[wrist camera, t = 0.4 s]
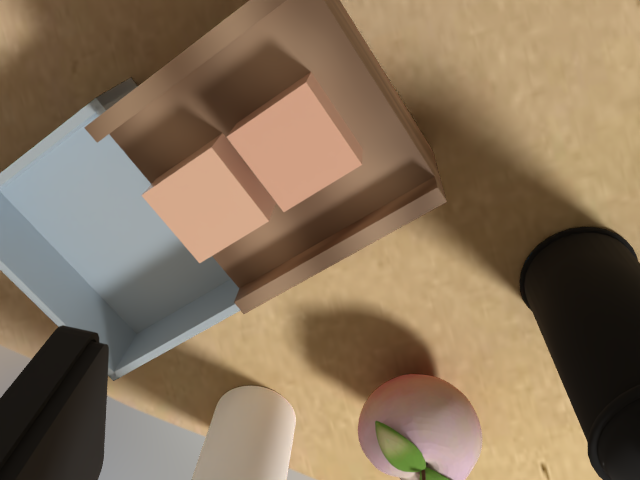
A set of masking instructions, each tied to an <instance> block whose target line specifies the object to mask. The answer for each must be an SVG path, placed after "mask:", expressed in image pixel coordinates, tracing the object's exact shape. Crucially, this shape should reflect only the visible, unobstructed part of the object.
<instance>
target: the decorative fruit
mask: <svg viewBox="0 0 640 480" xmlns="http://www.w3.org/2000/svg"><path fill="white" fill-rule="evenodd" d="M358 436H359V442H360V445H361V447H362V450H363V452H364V453H365V455H366V456H367V458H368V459H369V460H370V461H371V463H372V464H373V465H374V466H375V467H376V468H377V469H379V470H380V471H382V472H383V473H385V474H388V475H391V476H395V477H399V478H400V479H401V480H465V479H466V478H467V476H468V475H469V474H470V472H471V470H472V469H473V467H474V466H475V464H476V462H477V460H478V458H479V456H480V453H481V448H482V431H481V426H480V422H479V419H478V417H477V414H476V412H475V410H474V408H473V406H472V405H471V403H470V402H469V400H468V399H467V398H466V396H465V395H464V394H463V393H461V392H460V391H459V390H458V389H457V388H456V387H454V386H453V385H451V384H450V383H448V382H446V381H444V380H442V379H440V378H437V377H434V376H429V375H422V374H407V375H401V376H398V377H395V378H393V379H391V380H389V381H387V382H385V383H384V384H382V385H381V386H379V387H378V388H377V389H376V390H375V391H374V392H373V393H372V394H371V395H370V397H369V398H368V399H367V401H366V402H365V404H364V406H363V408H362V411H361V414H360V418H359V424H358Z"/></svg>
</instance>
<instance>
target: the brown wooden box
mask: <svg viewBox="0 0 640 480" xmlns="http://www.w3.org/2000/svg"><path fill="white" fill-rule="evenodd" d="M310 72H312V74H313V75H314V77H315V78H316V80H317V81H318V83H319V84H320V86H321V87H322V89H323V90H324V92H325V93H326V95H327V96H328V98H329V99H330V101H331V102H332V104H333V105H334V107H335V108H336V110H337V111H338V113H339V114H340V116H341V117H342V119H343V120H344V122H345V123H346V125H347V126H348V128H349V129H350V131H351V132H352V134H353V135H354V137H355V138H356V140H357V141H358V143H359V144H360V146H361V147H362V149H363V157H362V165H361V166H359V167H358V168H356V169H354V170H353V171H351V172H349V173H348V174H346V175H344V176H343V177H341V178H340V179H338V180H336V181H335V182H333V183H331V184H330V185H328V186H326V187H325V188H323V189H321V190H320V191H318V192H316V193H315V194H313V195H312V196H310V197H308V198H307V199H305V200H303V201H302V202H300V203H298V204H297V205H295V206H293V207H292V208H290V209H289V210H287V211H285V212H283V211H282V209H281V208H280V207H279V206H278V204H277V203H276V204H275V207H274V209H273V212H272V215H271V217H270V220H269V222H267V223H265V224H264V225H262V226H261V227H259V228H257V229H256V230H254V231H252V232H251V233H249V234H247V235H246V236H244V237H242V238H241V239H239V240H237V241H236V242H234V243H233V244H231V245H229V246H228V247H226V248H224V249H223V250H221V251H219V252H218V253H216V254H214V255H213V256H212V257H213V258H214V259H215V260H216V262H217V263H218V264H219V265H220V266H221V267H222V269H223V270H224V271H225V272H226V273H227V275H228V276H229V277H230V278H231V279H232V280H233V282H234V283H235V284H236V285H237V286H238V288H239V290H238V293H237V296H236V298H235V301H234V303H235V304H236V306H237V307H238V308H239V309H240V310H241V311H242V313H243V314H245V313H247V312H249V311H250V310H252V309H254V308H256V307H258V306H259V305H261V304H263V303H265V302H267V301H268V300H270V299H272V298H274V297H276V296H278V295H279V294H281V293H283V292H285V291H287V290H288V289H290V288H292V287H294V286H296V285H297V284H299V283H301V282H303V281H305V280H306V279H308V278H310V277H312V276H314V275H316V274H317V273H319V272H321V271H323V270H325V269H326V268H328V267H330V266H332V265H334V264H335V263H337V262H339V261H341V260H343V259H344V258H346V257H348V256H350V255H352V254H353V253H355V252H357V251H359V250H361V249H363V248H364V247H366V246H368V245H370V244H372V243H373V242H375V241H377V240H379V239H381V238H382V237H384V236H386V235H388V234H390V233H391V232H393V231H395V230H397V229H399V228H401V227H402V226H404V225H406V224H408V223H410V222H411V221H413V220H415V219H417V218H419V217H420V216H422V215H424V214H426V213H428V212H429V211H431V210H433V209H435V208H437V207H438V206H440V205H442V204H444V203H446V202H447V201H446V197H445V193H444V190H443V186H442V182H441V179H440V175H439V172H438V168H437V164H436V161H435V157H434V153H433V150H432V148H431V147H430V145H429V144H428V142H427V140H426V139H425V137H424V136H423V134H422V132H421V131H420V129H419V127H418V126H417V124H416V123H415V121H414V119H413V118H412V116H411V115H410V113H409V111H408V110H407V108H406V107H405V105H404V103H403V102H402V100H401V98H400V97H399V95H398V94H397V92H396V90H395V89H394V87H393V86H392V84H391V82H390V81H389V79H388V77H387V76H386V74H385V73H384V71H383V69H382V68H381V66H380V65H379V63H378V61H377V60H376V58H375V57H374V55H373V53H372V52H371V50H370V48H369V47H368V45H367V44H366V42H365V40H364V39H363V37H362V36H361V34H360V32H359V31H358V29H357V27H356V26H355V24H354V23H353V21H352V19H351V18H350V16H349V15H348V13H347V11H346V10H345V8H344V6H343V5H342V3H341V2H340V0H249V1H248V2H246V3H245V4H244V5H243V6H241V7H240V8H239V9H237V10H236V11H235V12H234V13H232V14H231V15H230V16H228V17H227V18H226V19H224V20H223V21H222V22H221V23H219V24H218V25H217V26H215V27H214V28H213V29H211V30H210V31H209V32H208V33H206V34H205V35H204V36H202V37H201V38H200V39H199V40H197V41H196V42H195V43H193V44H192V45H191V46H189V47H188V48H187V49H186V50H184V51H183V52H182V53H180V54H179V55H178V56H176V57H175V58H174V59H173V60H171V61H170V62H169V63H167V64H166V65H165V66H163V67H162V68H161V69H160V70H158V71H157V72H156V73H154V74H153V75H152V76H151V77H149V78H148V79H147V80H145V81H144V82H143V83H141V84H140V85H139V86H138V87H136V88H135V89H134V90H132V91H131V92H130V93H128V94H127V95H126V96H125V97H123V98H122V99H121V100H119V101H118V102H117V103H116V104H114V105H113V106H112V107H110V108H109V109H108V110H106V111H105V112H104V113H103V114H101V115H100V116H99V117H97V118H96V119H95V120H93V121H92V122H91V123H90V124H88V125H87V126H86V127H84V128H85V129H86V131H87V132H88V133H89V134H90V135H91V136H92V138H93V139H94V140H95V141H96V142H97V143H98V142H99V141H100V140H102V139H103V138H104V137H106V136H107V135H108V134H109V135H110V136H111V137H112V138H113V139H114V141H115V142H116V143H117V144H118V145H119V146H120V148H121V149H122V150H123V151H124V152H125V154H126V155H127V156H128V157H129V158H130V160H131V161H132V162H133V163H134V164H135V165H136V167H137V168H138V169H139V170H140V171H141V173H142V174H143V175H144V176H145V177H146V178H147V180H148V181H149V182H150V183H151V184H152V183H153V182H154V181H155V180H156V179H157V178H158V177H159V176H161V175H162V174H164V173H165V172H167V171H168V170H170V169H171V168H172V167H174V166H175V165H177V164H178V163H180V162H181V161H183V160H184V159H186V158H187V157H188V156H190V155H191V154H193V153H194V152H196V151H197V150H199V149H200V148H201V147H203V146H204V145H206V144H207V143H209V142H210V141H212V140H213V139H214V138H216V137H217V136H219V135H220V134H222V133H223V134H224V135H225V137H226V138H227V135H228V134H229V133H230V131H231V130H232V129H233V127H234V126H235V125H236V123H238V122H239V121H241V120H242V119H243V118H245V117H246V116H248V115H249V114H251V113H252V112H254V111H255V110H256V109H258V108H259V107H261V106H262V105H264V104H265V103H267V102H268V101H269V100H271V99H272V98H274V97H275V96H277V95H278V94H280V93H281V92H282V91H284V90H285V89H287V88H288V87H290V86H291V85H293V84H294V83H295V82H297V81H298V80H300V79H301V78H303V77H304V76H306V75H307V74H309V73H310ZM227 139H228V138H227ZM228 141H229V140H228ZM229 142H230V141H229ZM230 143H231V142H230ZM231 145H232V144H231ZM232 146H233V145H232ZM233 147H234V146H233ZM234 149H235V148H234ZM235 150H236V149H235ZM236 151H237V150H236ZM237 153H238V152H237ZM238 154H239V153H238ZM239 155H240V154H239ZM241 158H242V157H241ZM242 159H243V158H242ZM244 162H245V161H244ZM245 163H246V162H245ZM246 164H247V163H246ZM247 166H248V165H247ZM248 167H249V166H248ZM249 168H250V167H249ZM250 170H251V169H250ZM251 171H252V170H251ZM252 172H253V171H252ZM253 174H254V173H253ZM254 175H255V174H254ZM255 176H256V175H255ZM257 179H258V178H257ZM258 180H259V179H258ZM260 183H261V182H260ZM261 184H262V183H261ZM262 185H263V184H262ZM263 187H264V186H263ZM264 188H265V187H264ZM265 189H266V188H265ZM266 191H267V190H266ZM267 192H268V191H267ZM268 193H269V192H268ZM269 195H270V194H269ZM270 196H271V195H270ZM271 197H272V196H271ZM273 200H274V199H273ZM274 201H275V200H274Z"/></svg>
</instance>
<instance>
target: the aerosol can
mask: <svg viewBox="0 0 640 480" xmlns="http://www.w3.org/2000/svg"><path fill="white" fill-rule="evenodd" d="M520 291H521V294H522V297H523V300H524V302H525V303H526V305H527V306H528V308H529V309H530V310H531V311H532V312H533V314H534V317H535V319H536V321H537V324H538V326H539V328H540V331H541V333H542V335H543V338H544V340H545V343H546V345H547V347H548V350H549V352H550V354H551V357H552V359H553V361H554V364H555V366H556V368H557V371H558V373H559V376H560V378H561V380H562V383H563V385H564V387H565V390H566V392H567V394H568V397H569V399H570V402H571V404H572V406H573V409H574V411H575V413H576V416H577V418H578V420H579V423H580V425H581V427H582V430H583V432H584V435H585V437H586V439H587V442H588V456H589V459H590V462H591V465H592V467H593V468H594V470H595V471H596V473H597V474H598V475H599V477H601V478H602V479H603V480H640V263H639V262H638V259H637V256H636V254H635V252H634V250H633V248H632V247H631V246H630V244H629V243H628V242H627V241H626V240H625V239H623V238H622V237H620V236H619V235H618V234H616V233H613V232H611V231H608V230H606V229H601V228H596V227H580V228H573V229H568V230H565V231H562V232H559V233H557V234H555V235H553V236H551V237H549V238H547V239H546V240H545V241H543V242H542V243H541V244H539V245H538V246H537V247H536V248H535V249H534V250H533V251H532V252H531V254H530V255H529V257H528V258H527V260H526V261H525V263H524V266H523V268H522V271H521V276H520Z"/></svg>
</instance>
